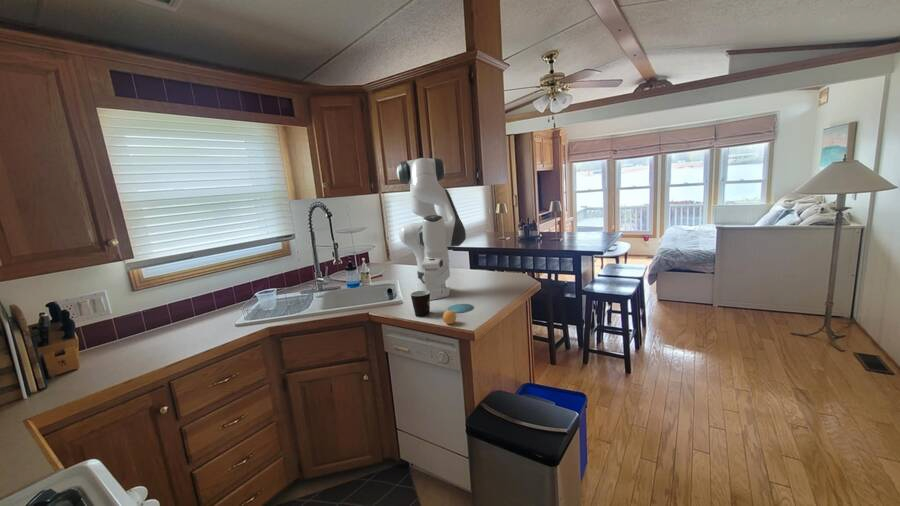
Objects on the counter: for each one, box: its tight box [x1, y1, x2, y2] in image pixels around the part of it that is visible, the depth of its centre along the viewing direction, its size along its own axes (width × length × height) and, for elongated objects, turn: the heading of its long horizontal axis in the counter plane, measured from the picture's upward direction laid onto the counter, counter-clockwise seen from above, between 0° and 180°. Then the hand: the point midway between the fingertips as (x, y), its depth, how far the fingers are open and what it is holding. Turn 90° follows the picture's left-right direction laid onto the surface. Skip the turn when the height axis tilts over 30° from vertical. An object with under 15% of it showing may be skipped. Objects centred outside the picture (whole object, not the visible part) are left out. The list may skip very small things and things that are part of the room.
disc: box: [446, 303, 474, 314], centre depth 167 cm, size 12×12×1 cm
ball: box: [442, 310, 457, 325], centre depth 149 cm, size 6×6×6 cm
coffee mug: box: [410, 290, 431, 318], centre depth 164 cm, size 12×9×10 cm
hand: (440, 295), depth 138 cm, fingers closed
